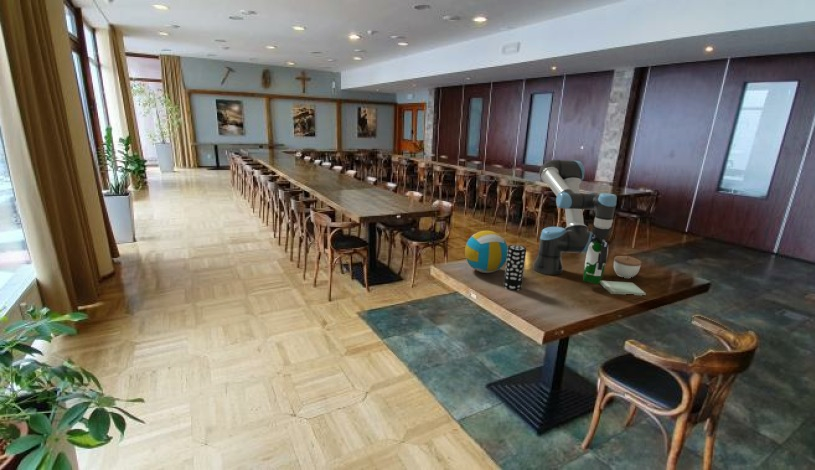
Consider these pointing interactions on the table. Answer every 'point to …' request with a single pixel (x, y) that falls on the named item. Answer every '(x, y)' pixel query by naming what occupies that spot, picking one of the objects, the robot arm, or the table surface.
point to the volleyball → (486, 251)
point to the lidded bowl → (626, 266)
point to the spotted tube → (514, 267)
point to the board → (621, 288)
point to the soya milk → (592, 263)
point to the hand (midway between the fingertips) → (593, 271)
